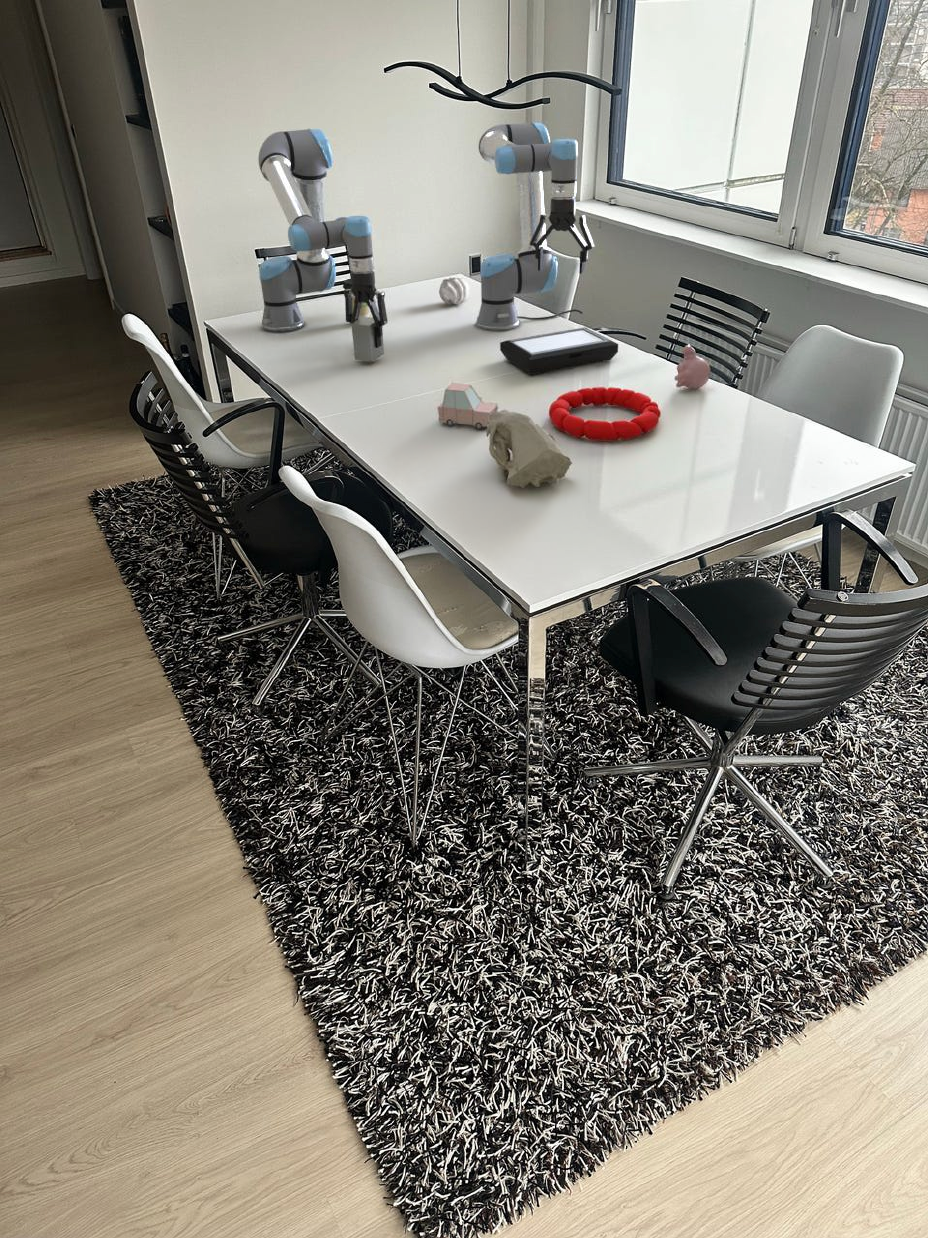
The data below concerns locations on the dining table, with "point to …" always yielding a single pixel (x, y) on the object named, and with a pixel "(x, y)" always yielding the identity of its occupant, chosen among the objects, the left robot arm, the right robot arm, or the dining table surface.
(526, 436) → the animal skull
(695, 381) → the figurine
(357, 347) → the block
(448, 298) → the seashell
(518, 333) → the dining table surface
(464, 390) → the toy car
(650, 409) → the decorative ring
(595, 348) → the electronic device
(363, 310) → the coffee cup
